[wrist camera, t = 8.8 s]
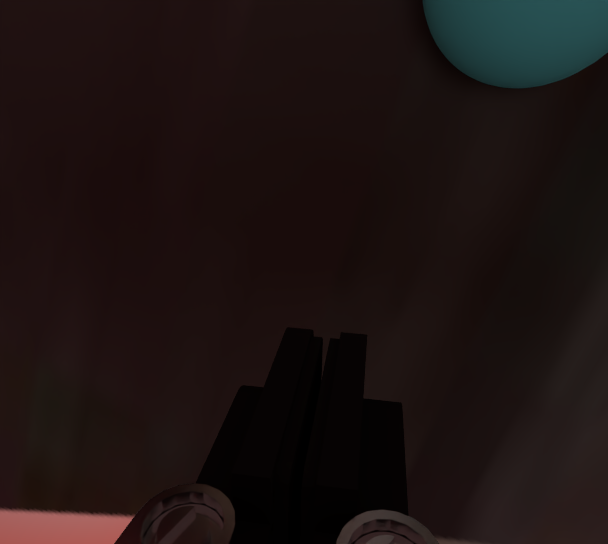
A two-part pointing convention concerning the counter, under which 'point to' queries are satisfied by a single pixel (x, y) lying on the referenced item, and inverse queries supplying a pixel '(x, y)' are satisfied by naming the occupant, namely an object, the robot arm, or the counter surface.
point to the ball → (519, 38)
